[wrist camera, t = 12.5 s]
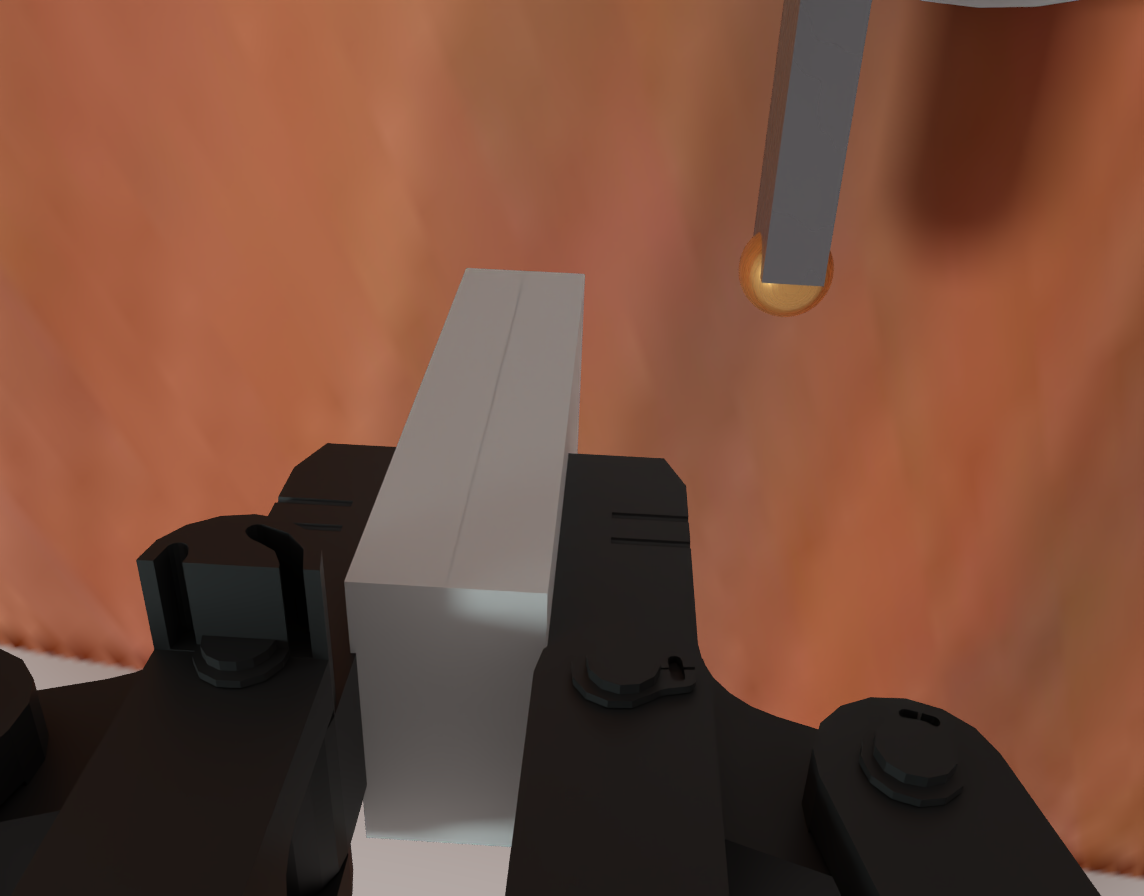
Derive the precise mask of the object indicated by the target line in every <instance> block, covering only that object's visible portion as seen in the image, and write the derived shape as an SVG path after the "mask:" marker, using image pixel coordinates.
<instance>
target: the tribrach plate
mask: <svg viewBox="0 0 1144 896" xmlns="http://www.w3.org/2000/svg"><path fill="white" fill-rule="evenodd" d="M921 1H928V2H936V3H944V4H953V5H961V6H969V7H977V8H990V7H1038V6H1044V5H1051V4H1057V3H1064V2H1071V1H1077V0H921Z"/></svg>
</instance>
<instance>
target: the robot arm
mask: <svg viewBox="0 0 1144 896" xmlns="http://www.w3.org/2000/svg"><path fill="white" fill-rule="evenodd" d="M584 285H585V274H574V273H555V272H535V271H515V270H496V269H476V268H466V270H465V273H464V275H463V278H462V280H461V283H460V285H459V288H458V291H457V293H456V296H455V298H454V301H453V303H452V306H451V309H450V311H449V314H448V316H447V319H446V321H445V324H444V327H443V329H442V332H441V334H440V337H439V339H438V342H437V344H436V347H435V350H434V352H433V355H432V357H431V360H430V362H429V365H428V368H427V370H426V373H425V375H424V378H423V380H422V383H421V386H420V388H419V391H418V393H417V396H416V398H415V401H414V404H413V406H412V409H411V411H410V414H409V416H408V419H407V422H406V424H405V427H404V429H403V432H402V434H401V437H400V439H399V442H398V445H397V447H385V446H367V445H349V444H331V443H327V444H326V445H324V446H323V447H322V448H320V449H319V450H317V451H316V452H315V453H313V454H312V455H311V456H309V457H308V458H306V459H305V460H304V461H302V462H301V463H300V464H298V465H297V466H295V467H294V469H293V471H292V472H291V474H290V476H289V478H288V480H287V482H286V484H285V485H284V487H283V489H282V491H281V493H280V495H279V497H278V503H275V504H274V506H273V508H272V510H271V511H270V513H269V515H268V516H263V515H257V514H251V515H232V516H219V517H215V518H211V519H208V520H204V521H200V522H196V523H192V524H188V525H185V526H183V527H181V528H179V529H177V530H176V531H174V532H172V533H170V534H168V535H166V536H164V537H162V538H160V539H158V540H156V541H155V542H154V543H153V544H152V545H151V546H150V547H149V548H148V549H147V550H146V551H145V552H144V553H143V554H142V555H141V556H140V557H139V558H138V559H137V560H136V561H137V566H138V571H139V576H140V581H141V586H142V591H143V596H144V601H145V605H146V610H147V615H148V620H149V625H150V630H151V635H152V640H153V645H154V651H153V653H152V654H151V656H150V658H149V660H148V661H147V663H146V665H145V666H144V668H143V669H142V670H140V671H137V672H135V673H130V674H126V675H122V676H118V677H114V678H110V679H105V680H99V681H93V682H86V683H81V684H74V685H68V686H62V687H56V688H50V689H44V690H36V686H35V683H34V679H33V677H32V676H31V674H30V672H29V670H28V668H27V667H26V665H25V663H24V662H23V660H22V659H20V658H18V657H16V656H14V655H12V654H10V653H8V652H6V651H3V650H1V649H0V896H352V889H353V863H352V853H351V844H350V843H351V840H352V837H353V833H354V830H355V826H356V822H357V819H358V815H359V812H360V808H361V805H362V801H363V803H364V815H365V826H366V837H367V838H381V839H397V840H412V841H413V840H414V841H427V842H442V843H457V844H472V845H473V844H474V845H488V846H504V847H511V854H510V861H509V870H508V877H507V886H506V893H505V896H1101V895H1100V894H1099V892H1098V891H1097V889H1096V888H1095V887H1094V885H1093V884H1092V882H1091V881H1090V880H1089V878H1088V877H1087V875H1086V874H1085V873H1084V871H1083V870H1082V868H1081V867H1080V865H1079V864H1078V863H1077V861H1076V860H1075V858H1074V857H1073V856H1072V854H1071V853H1070V851H1069V850H1068V849H1067V847H1066V846H1065V844H1064V843H1063V841H1062V840H1061V839H1060V837H1059V836H1058V834H1057V833H1056V832H1055V830H1054V829H1053V827H1052V826H1051V825H1050V823H1049V822H1048V820H1047V819H1046V817H1045V816H1044V815H1043V813H1042V812H1041V810H1040V809H1039V808H1038V806H1037V805H1036V803H1035V802H1034V801H1033V799H1032V798H1031V796H1030V795H1029V794H1028V792H1027V791H1026V789H1025V788H1024V786H1023V785H1022V784H1021V782H1020V781H1019V779H1018V778H1017V777H1016V775H1015V774H1014V772H1013V771H1012V770H1011V768H1010V767H1009V765H1008V764H1007V762H1006V761H1005V760H1004V758H1003V757H1002V755H1001V754H1000V753H999V752H998V751H997V750H996V749H995V748H994V747H993V746H992V745H991V744H990V743H989V742H988V741H987V740H986V739H985V738H984V737H983V736H982V735H981V734H980V733H979V732H978V731H977V730H976V729H975V728H974V727H972V726H970V725H969V724H967V723H965V722H964V721H962V720H960V719H958V718H957V717H955V716H953V715H951V714H950V713H948V712H946V711H944V710H943V709H940V708H936V707H933V706H930V705H926V704H923V703H919V702H916V701H912V700H909V699H904V698H874V697H870V698H867V699H863V700H860V701H856V702H853V703H849V704H846V705H842V706H840V707H839V708H838V709H837V710H835V711H834V712H833V713H832V714H831V715H829V716H828V717H827V718H826V719H825V720H824V721H822V722H821V723H820V726H819V729H815V728H812V727H809V726H805V725H802V724H799V723H796V722H792V721H789V720H786V719H783V718H779V717H776V716H774V715H771V714H769V713H766V712H764V711H761V710H759V709H756V708H754V707H751V706H750V705H748V704H746V703H745V702H743V701H742V700H740V699H738V698H737V697H735V696H734V695H732V694H730V693H729V692H728V691H727V690H726V689H725V688H724V687H723V686H722V685H721V684H720V683H718V682H717V681H716V680H715V679H714V678H713V677H712V675H711V673H710V672H709V670H708V669H707V667H706V666H705V663H704V661H703V659H702V658H701V654H700V650H699V646H698V640H697V626H696V613H695V599H694V586H693V573H692V559H691V548H690V533H689V523H688V506H687V493H686V485H685V484H684V483H683V482H682V480H681V479H680V478H679V477H678V475H677V474H676V473H675V472H674V470H673V469H672V468H671V467H670V465H669V464H668V463H667V462H666V460H665V459H662V458H644V457H626V456H608V455H590V454H577V451H578V427H579V404H580V380H581V356H582V333H583V309H584Z"/></svg>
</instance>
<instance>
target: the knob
mask: <svg viewBox="0 0 1144 896" xmlns="http://www.w3.org/2000/svg"><path fill="white" fill-rule="evenodd" d="M871 2H872V0H784V4H783V12H782V20H781V27H780V35H779V43H778V51H777V58H776V66H775V74H774V81H773V89H772V97H771V104H770V112H769V120H768V128H767V135H766V143H765V151H764V158H763V166H762V174H761V181H760V189H759V197H758V205H757V212H756V220H755V228H754V235H753V237H752V239H751V240H750V241H749V242H748V243H747V245H746V247H745V248H744V250H743V253H742V255H741V258H740V263H739V280H740V284H741V287H742V289H743V292H744V293H745V295H746V297H747V298H748V299H749V301H750V302H751V303H752V304H753V305H754V306H755V307H757V308H758V309H759V310H761V311H763V312H765V313H768V314H770V315H774V316H779V317H790V316H796V315H800V314H802V313H805V312H807V311H809V310H810V309H812V308H813V307H815V306H816V305H817V304H818V303H819V302H820V301H821V300H822V299H823V298H824V296H825V295H826V293H827V292H828V290H829V288H830V285H831V283H832V279H833V272H834V263H833V258H832V254H831V251H830V247H831V241H832V235H833V229H834V223H835V217H836V211H837V205H838V199H839V193H840V187H841V181H842V175H843V169H844V163H845V157H846V151H847V146H848V140H849V134H850V128H851V122H852V116H853V110H854V104H855V98H856V92H857V86H858V80H859V74H860V68H861V62H862V56H863V50H864V44H865V38H866V32H867V26H868V20H869V14H870V8H871Z"/></svg>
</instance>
